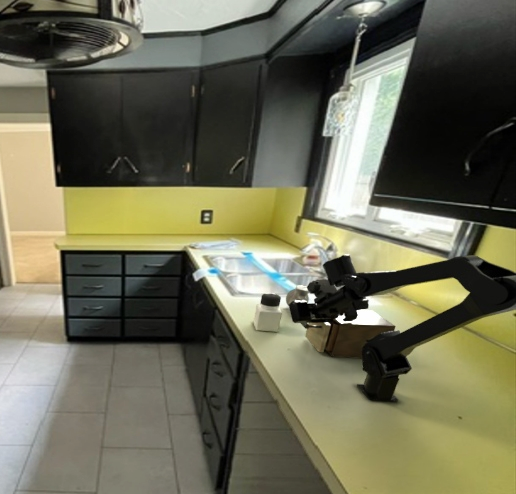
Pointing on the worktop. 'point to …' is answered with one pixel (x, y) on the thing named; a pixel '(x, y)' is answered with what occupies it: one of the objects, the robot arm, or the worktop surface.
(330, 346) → the drawer
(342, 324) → the cabinet
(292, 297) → the pipe fitting
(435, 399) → the worktop surface
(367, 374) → the robot arm
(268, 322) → the medicine bottle
